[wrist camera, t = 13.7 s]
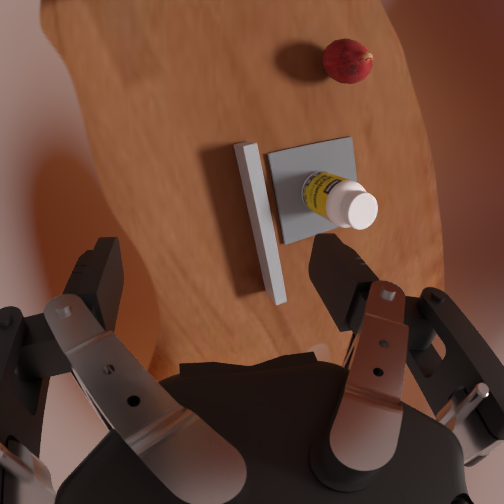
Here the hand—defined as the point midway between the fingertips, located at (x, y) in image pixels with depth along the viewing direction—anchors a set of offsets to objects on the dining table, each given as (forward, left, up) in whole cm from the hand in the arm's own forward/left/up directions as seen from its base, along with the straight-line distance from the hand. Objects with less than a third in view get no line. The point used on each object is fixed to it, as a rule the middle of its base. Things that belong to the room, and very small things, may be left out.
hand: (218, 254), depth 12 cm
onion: (-9, +22, -24) cm, 34 cm away
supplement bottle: (+7, +17, -23) cm, 30 cm away
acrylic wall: (+9, +8, -24) cm, 26 cm away
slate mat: (+7, +17, -24) cm, 30 cm away
